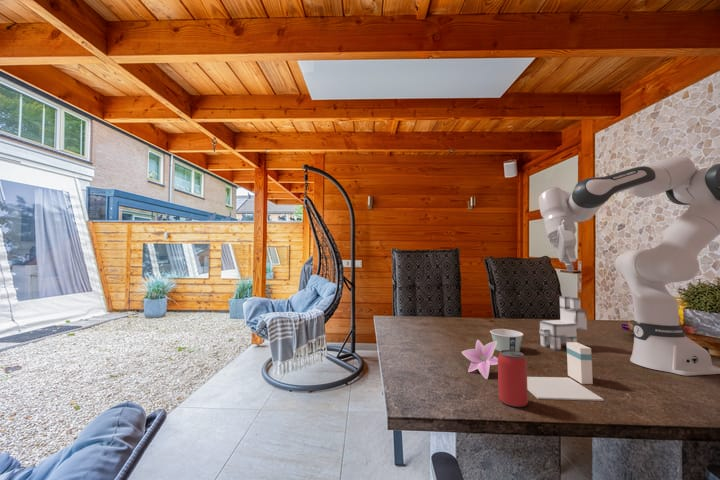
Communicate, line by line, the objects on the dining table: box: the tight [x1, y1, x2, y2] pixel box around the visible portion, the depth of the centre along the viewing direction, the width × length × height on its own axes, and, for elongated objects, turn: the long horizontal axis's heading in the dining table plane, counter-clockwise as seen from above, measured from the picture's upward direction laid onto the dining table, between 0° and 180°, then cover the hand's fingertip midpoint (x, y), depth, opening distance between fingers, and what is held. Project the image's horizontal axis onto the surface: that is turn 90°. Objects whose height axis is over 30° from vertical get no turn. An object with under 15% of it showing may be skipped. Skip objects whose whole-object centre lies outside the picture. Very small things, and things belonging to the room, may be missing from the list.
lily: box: [461, 339, 498, 380], centre depth 97 cm, size 12×12×10 cm
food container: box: [489, 328, 524, 352], centre depth 121 cm, size 12×12×6 cm
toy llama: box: [538, 295, 588, 352], centre depth 124 cm, size 8×18×20 cm, turn 101°
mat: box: [527, 376, 605, 402], centre depth 84 cm, size 16×14×1 cm
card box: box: [566, 341, 594, 385], centre depth 91 cm, size 3×6×10 cm, turn 176°
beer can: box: [497, 350, 529, 408], centre depth 77 cm, size 7×7×12 cm
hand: (572, 266), depth 102 cm, fingers open, 8 cm apart
